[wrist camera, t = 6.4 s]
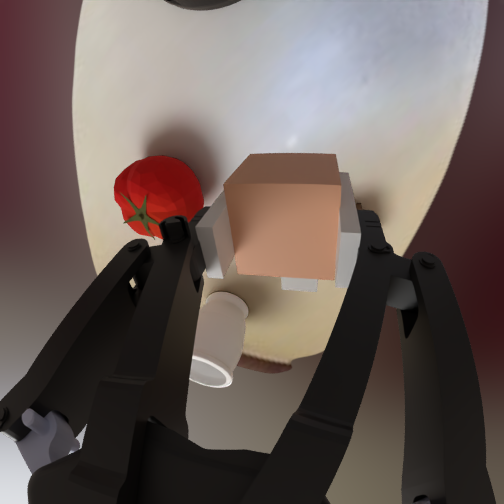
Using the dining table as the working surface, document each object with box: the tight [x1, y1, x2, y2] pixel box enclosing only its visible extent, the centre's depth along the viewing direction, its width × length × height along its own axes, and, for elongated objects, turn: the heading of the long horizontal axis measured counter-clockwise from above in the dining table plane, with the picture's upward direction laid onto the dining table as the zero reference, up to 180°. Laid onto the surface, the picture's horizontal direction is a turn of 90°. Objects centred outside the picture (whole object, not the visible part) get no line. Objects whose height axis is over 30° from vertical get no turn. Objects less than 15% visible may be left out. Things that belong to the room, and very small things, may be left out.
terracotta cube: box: [223, 153, 341, 280], centre depth 14 cm, size 5×5×5 cm
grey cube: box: [281, 277, 318, 292], centre depth 39 cm, size 5×5×5 cm
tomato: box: [114, 155, 204, 240], centre depth 34 cm, size 11×13×10 cm
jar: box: [189, 292, 248, 388], centre depth 46 cm, size 11×10×15 cm
